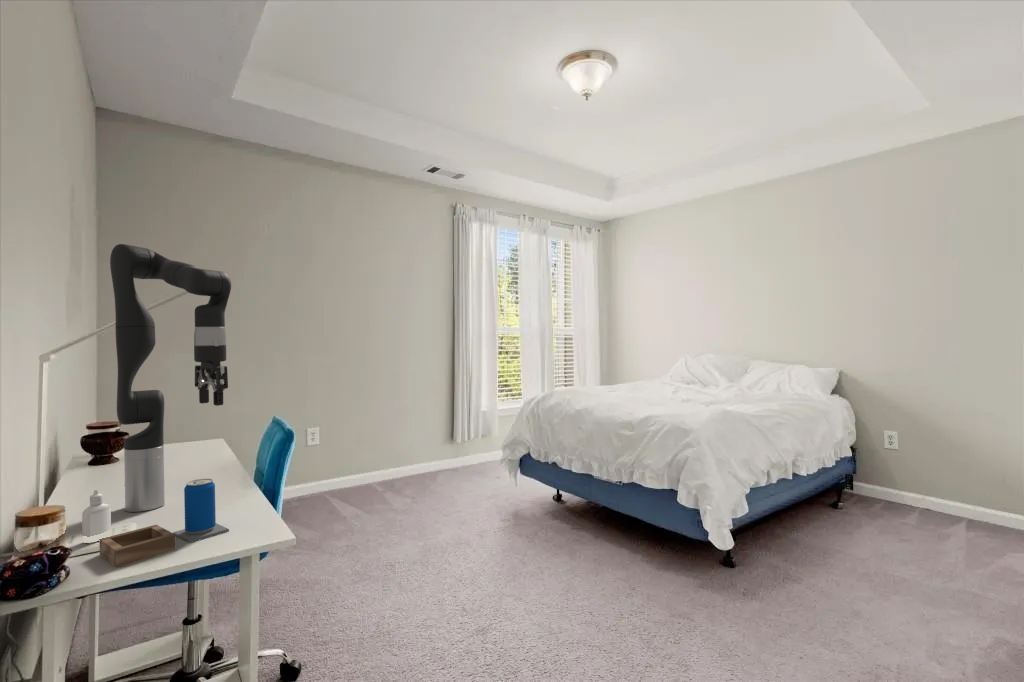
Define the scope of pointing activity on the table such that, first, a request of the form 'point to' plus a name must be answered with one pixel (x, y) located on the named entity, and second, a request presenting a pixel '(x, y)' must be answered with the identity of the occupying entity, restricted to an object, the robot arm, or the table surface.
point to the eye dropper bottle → (96, 516)
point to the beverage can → (199, 506)
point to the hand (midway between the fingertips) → (211, 404)
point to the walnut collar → (137, 545)
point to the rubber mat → (194, 537)
